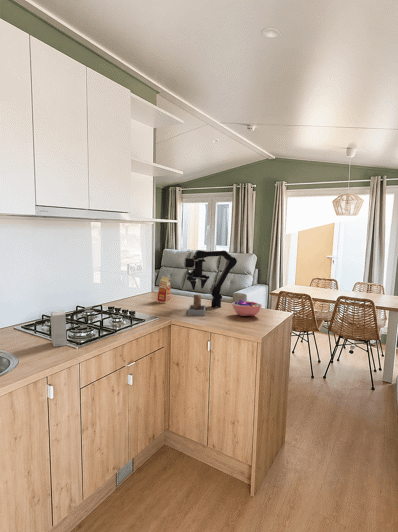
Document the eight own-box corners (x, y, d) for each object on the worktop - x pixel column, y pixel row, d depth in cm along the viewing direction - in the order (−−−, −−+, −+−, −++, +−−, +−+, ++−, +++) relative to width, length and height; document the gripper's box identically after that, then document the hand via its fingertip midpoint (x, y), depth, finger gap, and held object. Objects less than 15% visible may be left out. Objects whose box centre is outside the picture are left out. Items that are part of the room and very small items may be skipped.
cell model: (261, 320, 215) (262, 303, 214) (229, 317, 219) (230, 300, 218) (261, 314, 232) (262, 298, 231) (232, 311, 236) (233, 295, 235)
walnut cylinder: (200, 310, 232) (201, 294, 231) (200, 312, 227) (201, 296, 226) (193, 310, 232) (194, 294, 231) (192, 311, 227) (193, 295, 226)
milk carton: (156, 302, 258) (157, 276, 256) (161, 300, 267) (162, 274, 265) (167, 303, 255) (168, 277, 253) (172, 301, 264) (173, 275, 262)
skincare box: (66, 345, 157) (66, 314, 156) (52, 347, 155) (52, 315, 153) (64, 340, 165) (64, 310, 163) (50, 341, 162) (50, 311, 160)
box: (205, 310, 237) (205, 305, 236) (204, 315, 222) (204, 310, 221) (189, 309, 237) (189, 304, 237) (187, 315, 222) (187, 309, 222)
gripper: (198, 266, 257) (198, 286, 258) (181, 267, 243) (180, 288, 244) (210, 267, 249) (209, 288, 251) (192, 269, 235) (192, 291, 237)
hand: (197, 289), depth 246 cm, fingers open, 9 cm apart
